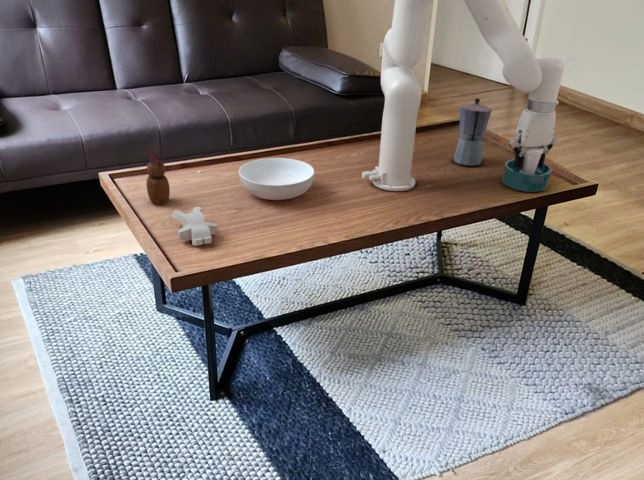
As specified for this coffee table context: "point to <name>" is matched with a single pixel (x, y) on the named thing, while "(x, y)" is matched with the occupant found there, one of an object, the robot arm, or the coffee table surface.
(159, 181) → the wooden figurine
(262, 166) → the serving bowl
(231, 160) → the coffee table surface
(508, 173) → the bowl
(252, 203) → the coffee table surface
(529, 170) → the smoothie
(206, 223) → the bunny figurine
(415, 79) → the robot arm
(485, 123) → the moka pot
